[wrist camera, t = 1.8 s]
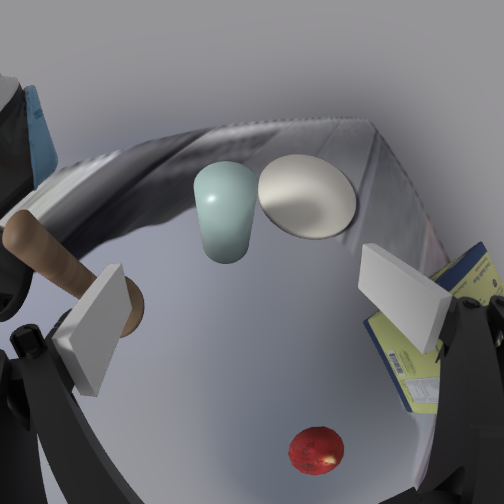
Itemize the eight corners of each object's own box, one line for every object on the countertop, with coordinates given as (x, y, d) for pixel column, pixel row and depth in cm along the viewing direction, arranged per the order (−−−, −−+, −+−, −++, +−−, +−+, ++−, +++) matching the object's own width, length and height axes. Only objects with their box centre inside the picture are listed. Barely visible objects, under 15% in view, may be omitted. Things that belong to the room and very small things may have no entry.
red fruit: (291, 470, 24) (309, 495, 17) (276, 432, 26) (291, 450, 19) (335, 452, 25) (364, 469, 18) (322, 414, 28) (349, 424, 20)
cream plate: (260, 239, 36) (261, 234, 35) (255, 156, 43) (256, 151, 42) (362, 240, 38) (365, 236, 37) (341, 163, 44) (344, 158, 43)
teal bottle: (201, 263, 34) (191, 211, 24) (203, 222, 37) (196, 161, 26) (249, 263, 35) (259, 211, 24) (248, 222, 37) (256, 161, 27)
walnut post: (86, 335, 29) (-29, 282, 11) (93, 276, 32) (3, 186, 14) (142, 341, 30) (43, 291, 11) (146, 277, 33) (76, 174, 15)
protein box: (410, 286, 36) (481, 238, 21) (451, 370, 30) (529, 352, 16) (360, 321, 33) (436, 281, 19) (406, 414, 28) (492, 418, 13)
